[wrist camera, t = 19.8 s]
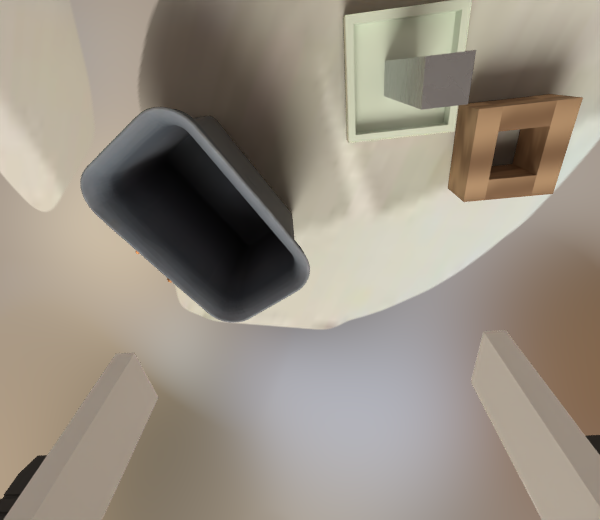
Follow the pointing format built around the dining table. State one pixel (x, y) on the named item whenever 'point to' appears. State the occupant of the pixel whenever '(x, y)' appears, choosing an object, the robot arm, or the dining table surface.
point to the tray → (390, 46)
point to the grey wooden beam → (430, 80)
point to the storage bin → (197, 213)
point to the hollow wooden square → (529, 151)
